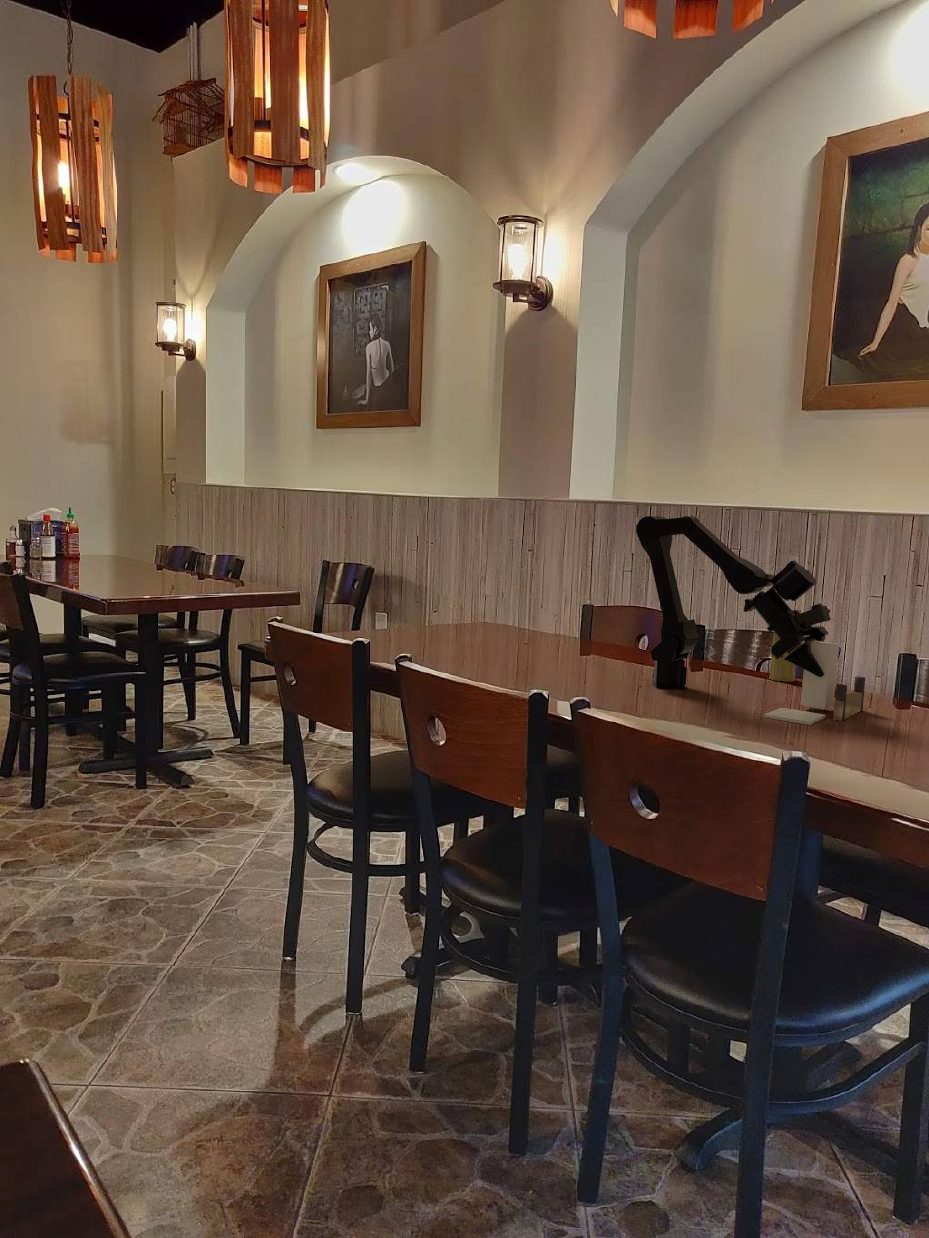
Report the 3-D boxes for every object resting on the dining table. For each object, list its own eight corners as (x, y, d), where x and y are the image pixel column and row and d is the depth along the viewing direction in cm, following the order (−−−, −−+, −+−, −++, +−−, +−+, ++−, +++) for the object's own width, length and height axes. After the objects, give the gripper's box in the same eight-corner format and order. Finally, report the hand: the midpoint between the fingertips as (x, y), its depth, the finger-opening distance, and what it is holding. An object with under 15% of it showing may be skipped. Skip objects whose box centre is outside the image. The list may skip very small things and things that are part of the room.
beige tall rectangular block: (800, 704, 192) (806, 642, 191) (808, 701, 196) (814, 640, 195) (824, 709, 189) (831, 645, 188) (833, 705, 193) (839, 643, 192)
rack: (832, 719, 184) (835, 684, 183) (853, 709, 195) (856, 676, 194) (842, 721, 183) (845, 686, 182) (863, 710, 194) (866, 677, 193)
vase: (796, 679, 228) (800, 621, 226) (793, 683, 223) (798, 624, 221) (770, 676, 231) (774, 619, 229) (767, 680, 225) (771, 621, 223)
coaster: (764, 717, 185) (764, 714, 184) (781, 710, 192) (781, 707, 191) (810, 725, 179) (810, 722, 179) (825, 717, 186) (825, 714, 186)
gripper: (791, 593, 185) (843, 655, 180) (822, 588, 199) (871, 646, 194) (749, 628, 191) (799, 689, 186) (783, 620, 205) (829, 677, 200)
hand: (826, 674), depth 191 cm, fingers closed on beige tall rectangular block, 5 cm apart
